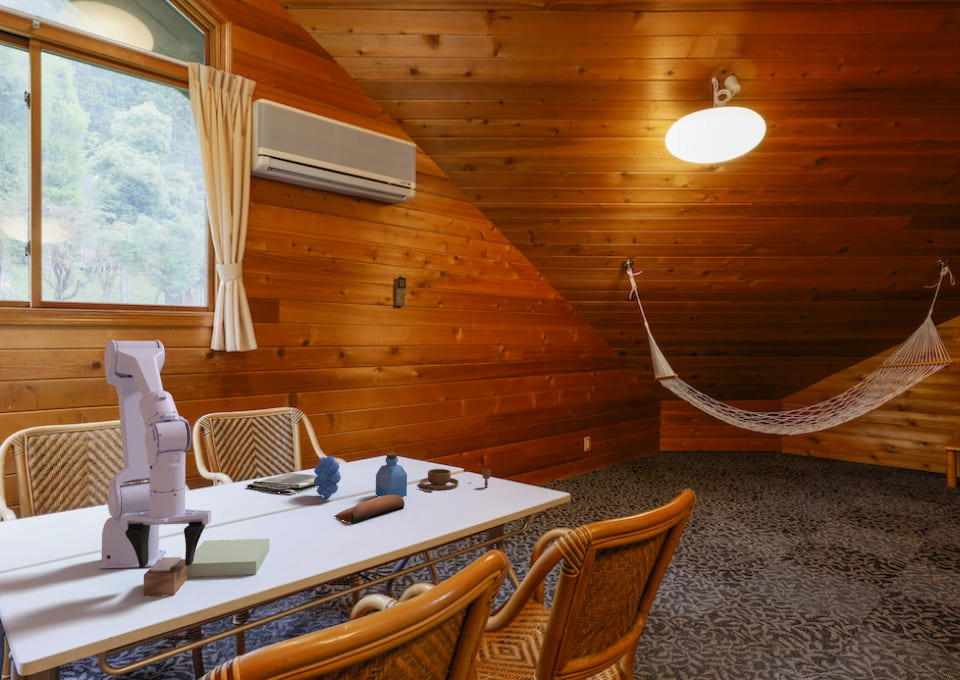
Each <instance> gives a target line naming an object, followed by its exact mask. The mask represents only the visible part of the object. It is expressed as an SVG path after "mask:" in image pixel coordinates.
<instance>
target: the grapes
mask: <svg viewBox="0 0 960 680" xmlns="http://www.w3.org/2000/svg"><path fill="white" fill-rule="evenodd" d="M339 470H340V464H339V463H338V461H337V462H336V460H335V458H334V457H333V456H332V455H328V456H323V457H320V459H319V461H318V464H317V465H316V467H315V468H314V470H313V471H314V474H315V476H317V477H316V478H315V479H314V484H315V485H316V486H319V487H316V492H317V495H319V496H322V497H323V498H325V499H329V498H331V496H332V495H334V494H336V493H337V492H338V490H339V486H338V484H339V483H340V481H341V479H342V476H341V473H340V471H339Z"/></svg>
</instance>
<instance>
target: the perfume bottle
mask: <svg viewBox="0 0 960 680" xmlns="http://www.w3.org/2000/svg"><path fill="white" fill-rule="evenodd" d="M385 456H386V457H385V463H386V464H383V465H381V466H380V468H379V469H378V471H377V472H376V474H375V496H376V495H377V496H385V495H400V496H401V497H402V498H405V497H404V496H406V497H407V496H408V495H407V491H408V474H407V472H406V471H405V469H404V468H403V465H400V464H398V462H399V458H398V453H396V452H389V453H388V452H387V453H386V454H385ZM377 496H376V497H377Z"/></svg>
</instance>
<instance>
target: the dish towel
mask: <svg viewBox="0 0 960 680" xmlns="http://www.w3.org/2000/svg"><path fill="white" fill-rule="evenodd" d="M317 476H318V475H316V474H315V475H313V474H304V473H291V472H287V473H285V474H282V475H278V476H273V477H268V478H265V479H262V480H259V481H258V480H256V481H255V480H254V481H253V482H252V483H250V484H247V485H246V487H247V489H252V490H257V491H261V490H262V492H269V491H270V493H273V492H275V493H274V494H279V493H278V492H280V493H283V494H284V493H291V495H290V496H293V494H294V495H296V493H298V494H300V492H301V493H304V492H307V491H310V490H312V488H313V489H315V487H316V488H318V486H316V485H315V484H314V479H315V478H316V477H317ZM309 489H310V490H309ZM306 490H307V491H306ZM303 491H304V492H303Z"/></svg>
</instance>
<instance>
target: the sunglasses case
mask: <svg viewBox="0 0 960 680" xmlns="http://www.w3.org/2000/svg"><path fill="white" fill-rule="evenodd" d="M400 507H402V508H400ZM399 508H400V509H404V508H405V500H404V497H401V496H400V495H385V496H380V497H377V496H376V497H375V498H372V499H369V500H363V502H358V503H356V505H354V506H352V507H349V508H347V509H344V510H342V511H340V512H338V513H337V514H335V515H334V516H333V517H336V518H338V519H340V520H339V521H341V520H344V521H346V522H345V523H347V522H350V523H352V524H351V525H353V524H354V523H359V522H361V521H363V520H366V519H367V518H370V517H373V516H376V515H379V514H383V513H386V512H390V511H393V510H397V509H399ZM338 519H337V520H338ZM344 521H343V522H344ZM350 523H349V524H350Z"/></svg>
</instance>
